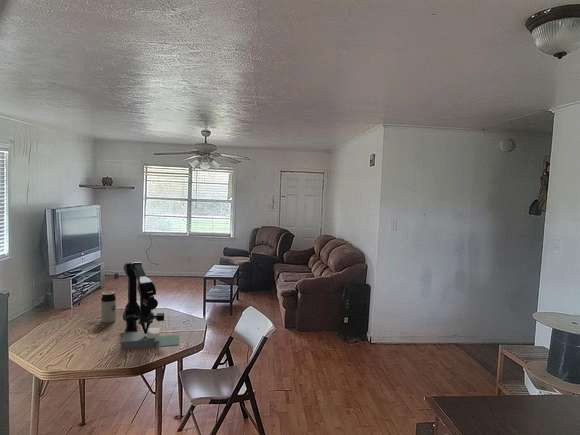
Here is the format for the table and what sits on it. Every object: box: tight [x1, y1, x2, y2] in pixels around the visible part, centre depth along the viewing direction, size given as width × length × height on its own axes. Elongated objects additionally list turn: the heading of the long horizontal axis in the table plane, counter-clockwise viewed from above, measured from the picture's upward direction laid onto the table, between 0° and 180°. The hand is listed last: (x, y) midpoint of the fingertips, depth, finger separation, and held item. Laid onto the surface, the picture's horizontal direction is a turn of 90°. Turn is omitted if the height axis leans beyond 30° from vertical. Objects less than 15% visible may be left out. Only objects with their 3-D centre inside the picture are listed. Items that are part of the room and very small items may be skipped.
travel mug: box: [100, 290, 117, 324], centre depth 235 cm, size 8×8×18 cm
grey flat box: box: [120, 331, 156, 351], centre depth 201 cm, size 13×16×4 cm
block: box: [147, 327, 161, 339], centre depth 203 cm, size 9×6×2 cm, turn 16°
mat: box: [154, 334, 180, 348], centre depth 206 cm, size 14×12×1 cm
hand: (145, 333), depth 202 cm, fingers closed
